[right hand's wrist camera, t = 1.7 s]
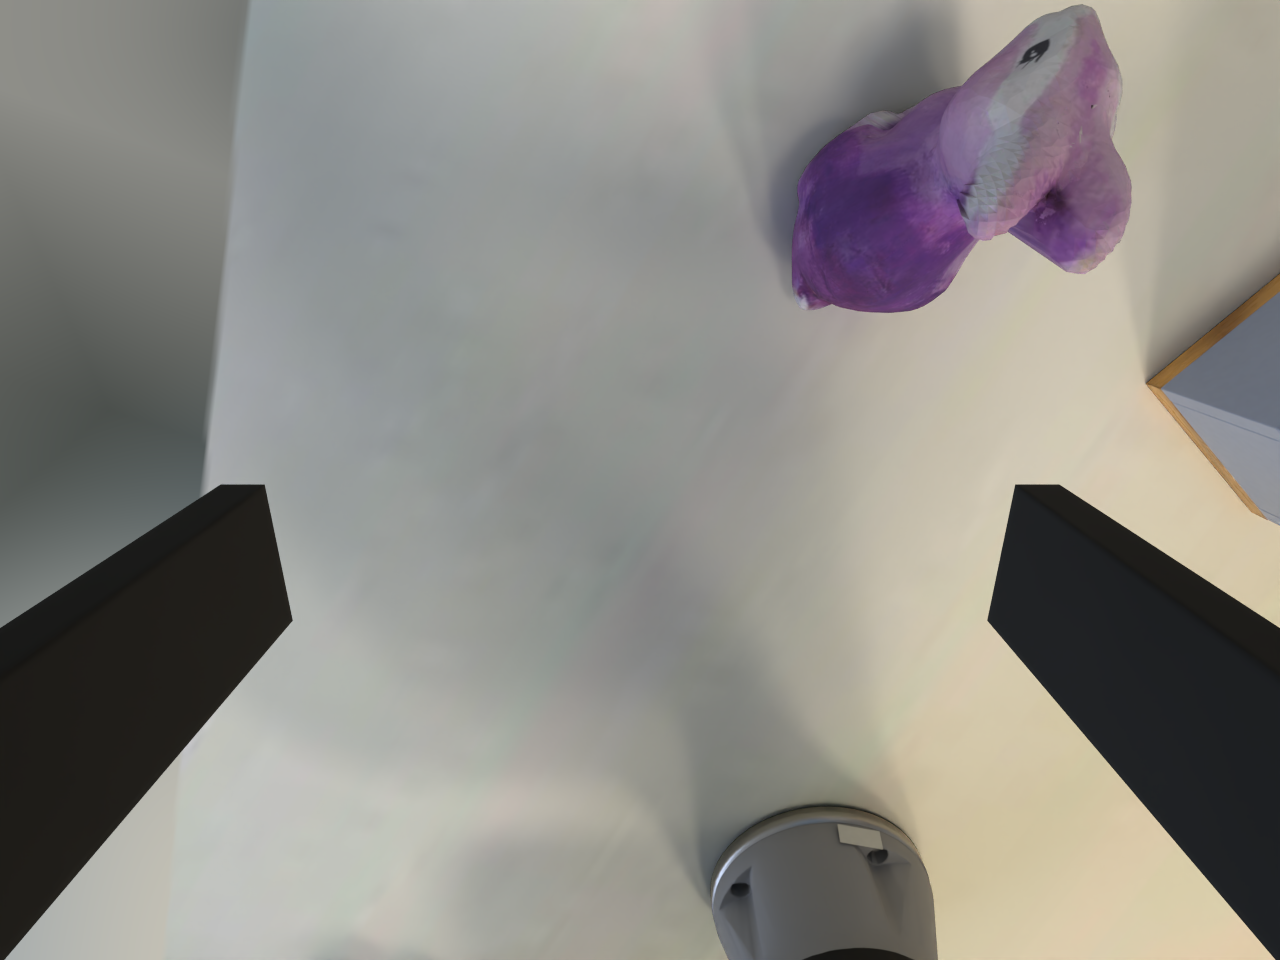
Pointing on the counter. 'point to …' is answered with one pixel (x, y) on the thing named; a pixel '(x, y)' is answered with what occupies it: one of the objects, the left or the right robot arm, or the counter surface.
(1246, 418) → the cabinet
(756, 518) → the counter surface
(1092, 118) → the figurine
